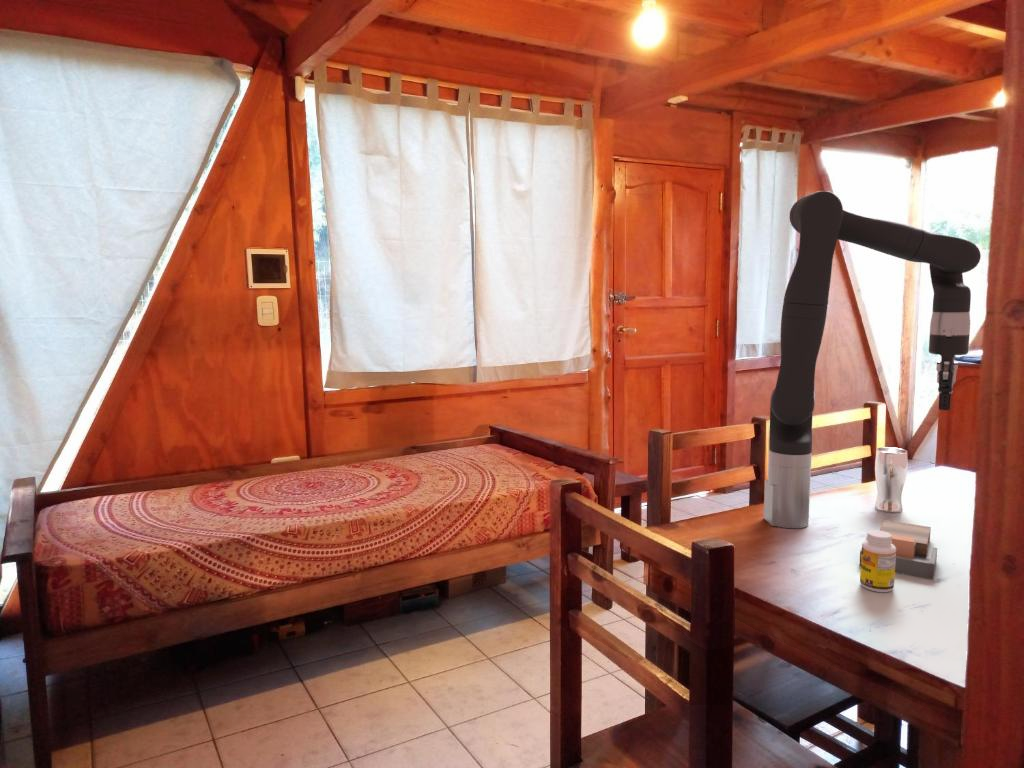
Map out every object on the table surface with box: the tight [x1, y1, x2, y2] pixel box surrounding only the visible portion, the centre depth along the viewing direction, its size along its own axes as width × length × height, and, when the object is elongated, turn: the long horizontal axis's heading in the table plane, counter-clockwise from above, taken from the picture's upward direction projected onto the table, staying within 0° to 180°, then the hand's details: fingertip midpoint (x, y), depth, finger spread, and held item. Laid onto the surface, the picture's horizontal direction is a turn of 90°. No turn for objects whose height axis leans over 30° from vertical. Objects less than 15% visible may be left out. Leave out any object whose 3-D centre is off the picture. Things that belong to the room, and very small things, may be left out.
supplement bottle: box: [859, 529, 896, 593], centre depth 128 cm, size 6×6×10 cm
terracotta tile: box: [892, 535, 915, 559], centre depth 138 cm, size 5×5×2 cm
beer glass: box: [874, 446, 908, 514], centre depth 172 cm, size 7×7×15 cm
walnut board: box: [879, 519, 931, 558], centre depth 149 cm, size 12×9×3 cm
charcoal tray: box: [859, 536, 938, 580], centre depth 139 cm, size 10×13×3 cm
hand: (944, 409), depth 157 cm, fingers closed
